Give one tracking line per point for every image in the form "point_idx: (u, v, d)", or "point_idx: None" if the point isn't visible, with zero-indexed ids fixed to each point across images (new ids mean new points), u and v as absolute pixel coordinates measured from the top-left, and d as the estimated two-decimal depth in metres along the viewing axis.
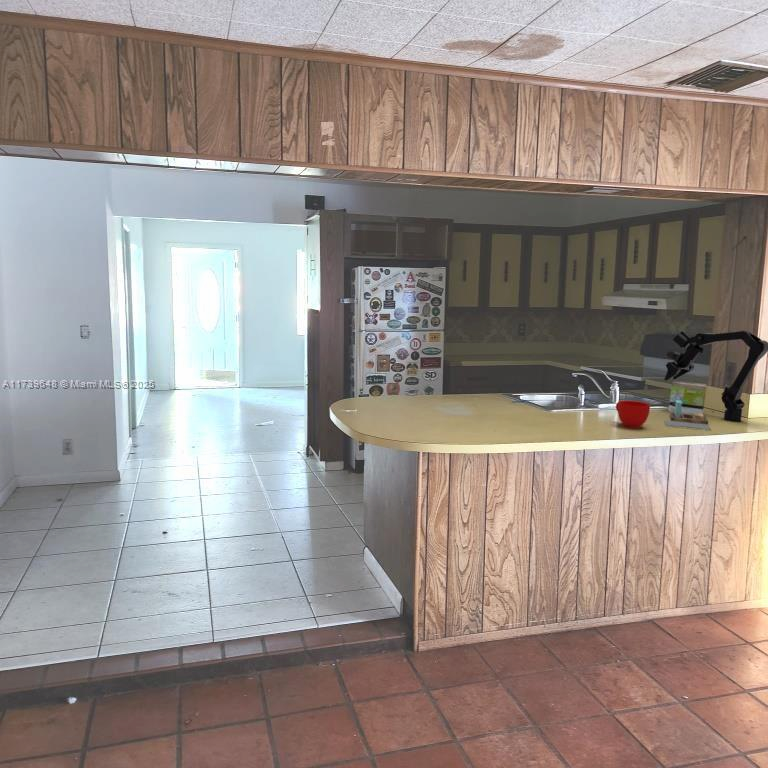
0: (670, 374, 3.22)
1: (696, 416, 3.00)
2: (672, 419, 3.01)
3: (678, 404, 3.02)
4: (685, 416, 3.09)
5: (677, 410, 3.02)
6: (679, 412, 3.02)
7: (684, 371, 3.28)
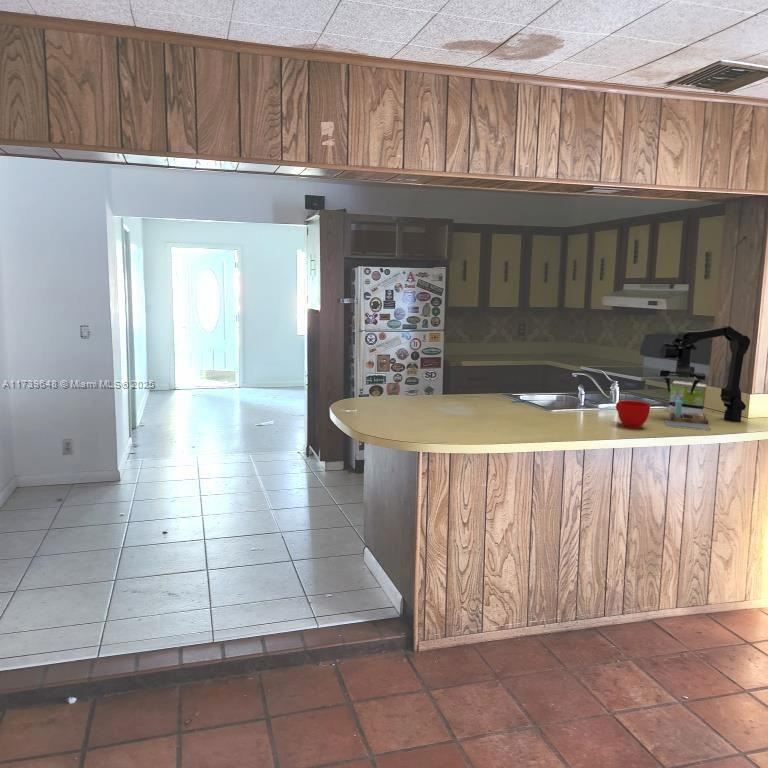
0: None
1: (696, 416, 3.00)
2: (672, 419, 3.01)
3: (678, 404, 3.02)
4: (685, 416, 3.09)
5: (677, 410, 3.02)
6: (679, 412, 3.02)
7: None
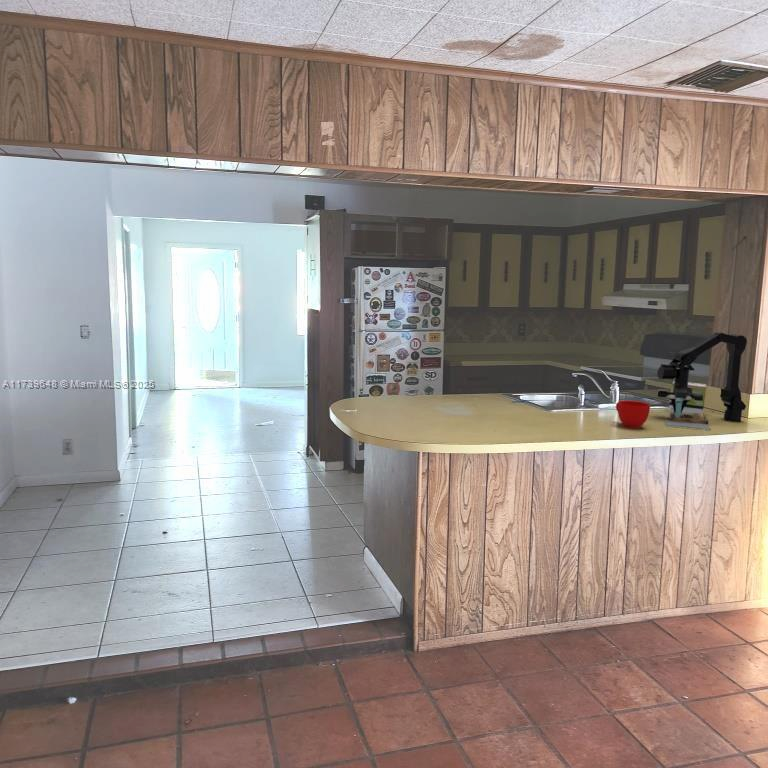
0: None
1: (696, 416, 3.00)
2: (672, 419, 3.01)
3: (678, 404, 3.02)
4: (685, 416, 3.09)
5: (677, 410, 3.02)
6: (679, 412, 3.02)
7: None
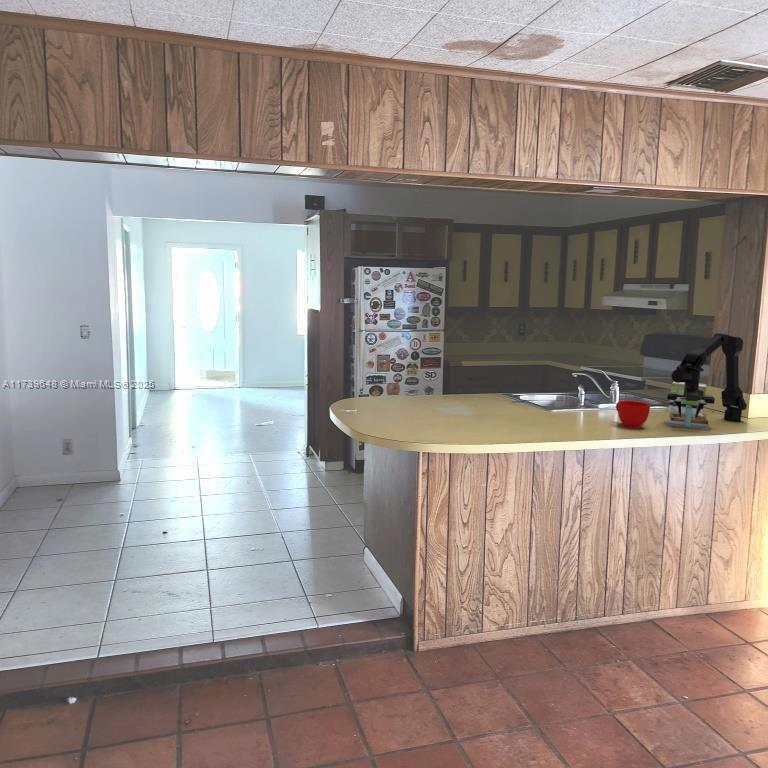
0: None
1: None
2: (672, 419, 3.01)
3: (688, 410, 2.88)
4: None
5: (687, 416, 2.88)
6: (689, 418, 2.88)
7: None
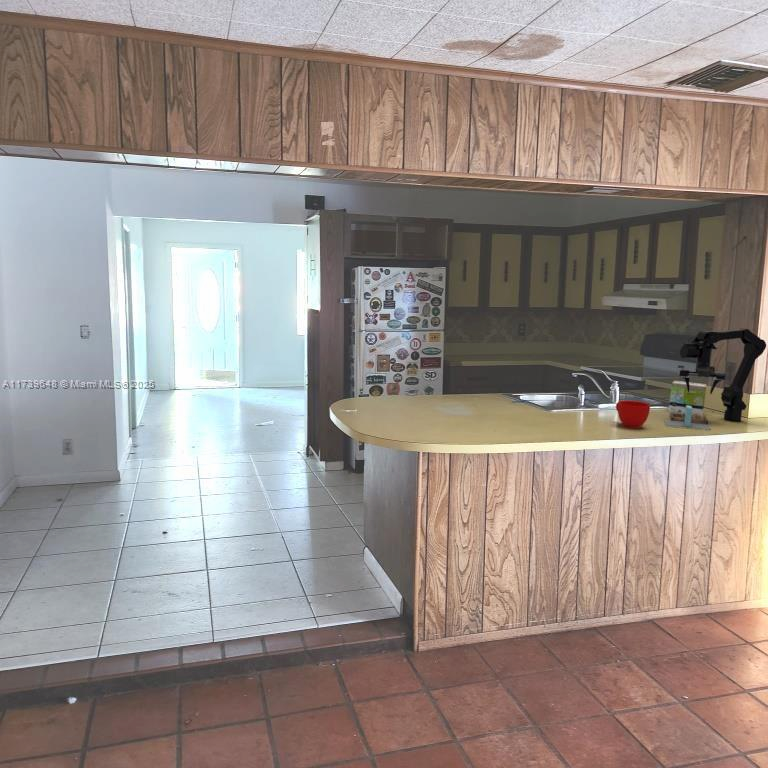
0: None
1: (696, 416, 3.00)
2: (672, 419, 3.01)
3: (688, 410, 2.88)
4: None
5: (687, 416, 2.88)
6: (689, 418, 2.88)
7: None
